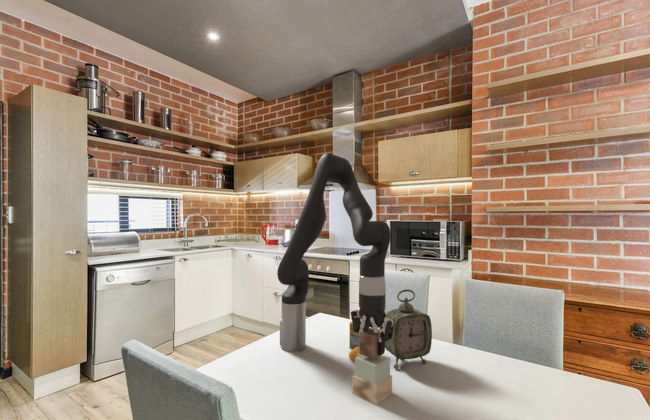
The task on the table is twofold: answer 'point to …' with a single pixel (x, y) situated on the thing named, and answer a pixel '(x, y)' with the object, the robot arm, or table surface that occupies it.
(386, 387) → the oak block
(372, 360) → the sage block
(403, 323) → the tabletop clock
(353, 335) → the crayon box
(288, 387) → the table surface
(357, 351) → the bread roll
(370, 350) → the walnut block
